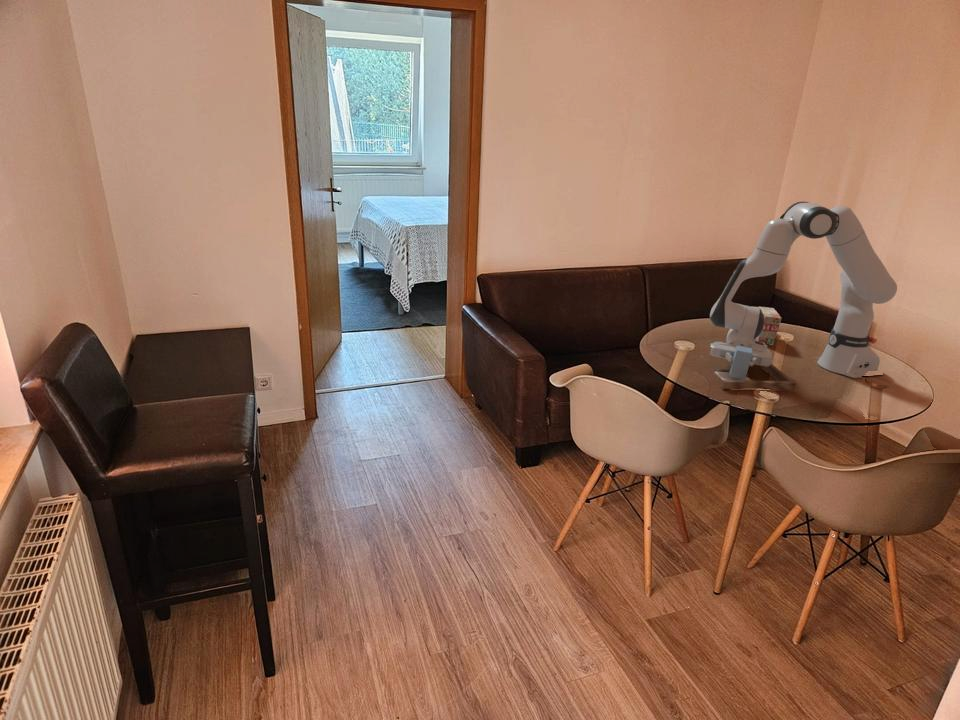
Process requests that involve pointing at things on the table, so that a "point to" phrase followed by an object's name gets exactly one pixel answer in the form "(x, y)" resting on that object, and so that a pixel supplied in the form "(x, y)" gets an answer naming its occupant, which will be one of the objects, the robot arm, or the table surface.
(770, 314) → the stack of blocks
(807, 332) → the table surface
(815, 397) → the table surface
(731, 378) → the felt pad
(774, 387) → the walnut fence
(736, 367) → the slate-blue block
